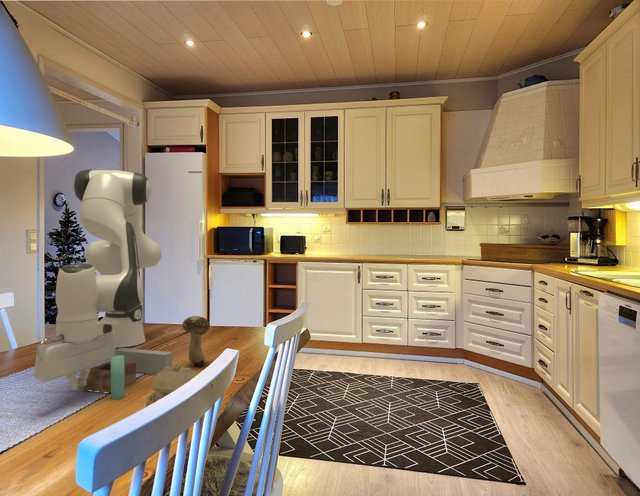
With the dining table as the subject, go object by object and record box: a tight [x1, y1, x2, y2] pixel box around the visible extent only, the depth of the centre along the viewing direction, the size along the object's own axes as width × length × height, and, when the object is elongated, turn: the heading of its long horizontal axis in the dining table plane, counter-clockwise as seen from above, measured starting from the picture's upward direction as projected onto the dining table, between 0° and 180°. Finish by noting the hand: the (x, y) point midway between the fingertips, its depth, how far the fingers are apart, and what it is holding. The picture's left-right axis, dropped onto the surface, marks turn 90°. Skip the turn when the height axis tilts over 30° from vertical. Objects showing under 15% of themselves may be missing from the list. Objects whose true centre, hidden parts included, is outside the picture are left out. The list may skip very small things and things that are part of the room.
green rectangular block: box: [110, 355, 126, 400], centre depth 102 cm, size 3×3×10 cm
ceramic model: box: [145, 363, 198, 407], centre depth 96 cm, size 14×11×10 cm
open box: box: [82, 360, 137, 393], centre depth 111 cm, size 8×10×5 cm
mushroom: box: [181, 315, 211, 367], centre depth 128 cm, size 9×9×15 cm
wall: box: [114, 347, 173, 376], centre depth 122 cm, size 18×3×6 cm, turn 73°
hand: (78, 387), depth 101 cm, fingers closed
